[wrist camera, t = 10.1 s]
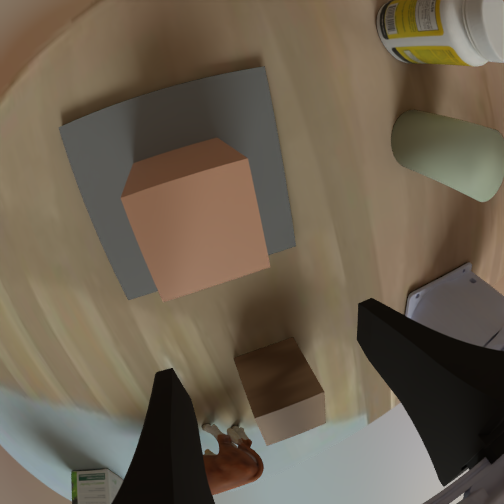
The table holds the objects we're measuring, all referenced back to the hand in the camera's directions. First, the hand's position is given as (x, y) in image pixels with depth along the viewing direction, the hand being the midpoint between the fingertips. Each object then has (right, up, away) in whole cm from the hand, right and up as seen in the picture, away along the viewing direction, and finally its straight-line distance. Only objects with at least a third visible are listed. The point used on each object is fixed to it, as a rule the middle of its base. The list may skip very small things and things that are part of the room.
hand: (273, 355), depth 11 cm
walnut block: (+1, -6, +15) cm, 16 cm away
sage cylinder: (+11, +12, +8) cm, 18 cm away
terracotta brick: (-4, +7, +5) cm, 10 cm away
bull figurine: (-7, -16, +17) cm, 24 cm away
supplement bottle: (+9, +19, +4) cm, 21 cm away
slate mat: (-4, +7, +6) cm, 10 cm away
